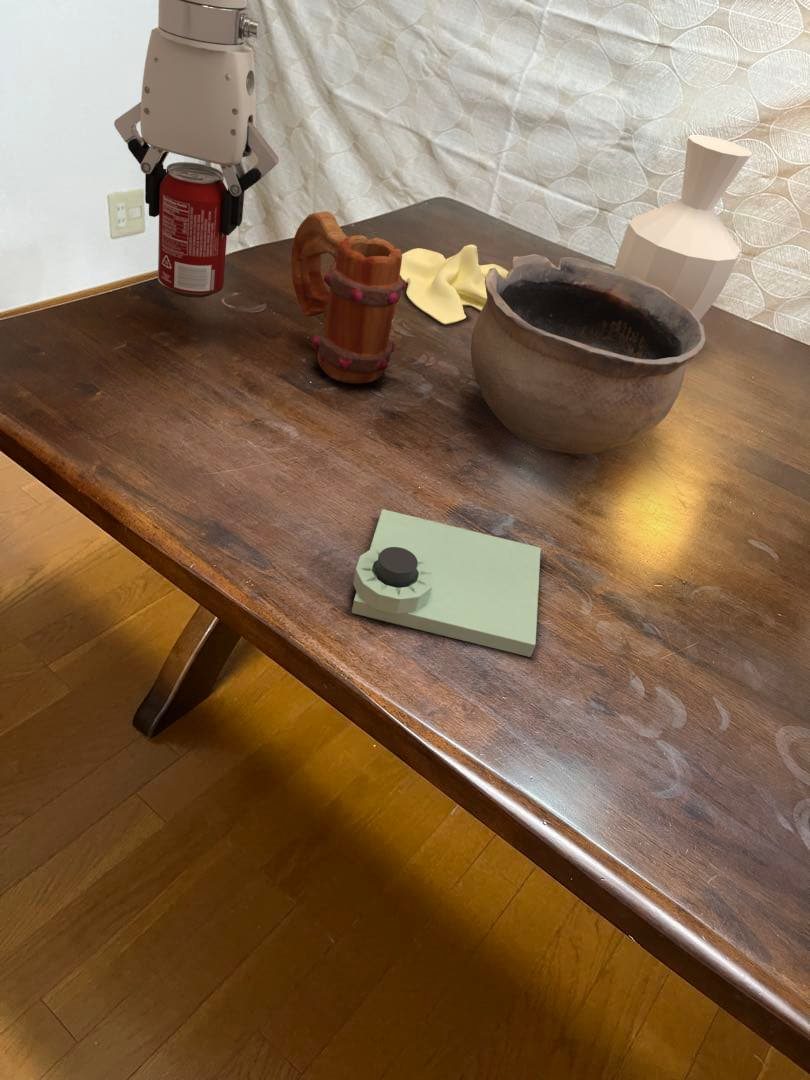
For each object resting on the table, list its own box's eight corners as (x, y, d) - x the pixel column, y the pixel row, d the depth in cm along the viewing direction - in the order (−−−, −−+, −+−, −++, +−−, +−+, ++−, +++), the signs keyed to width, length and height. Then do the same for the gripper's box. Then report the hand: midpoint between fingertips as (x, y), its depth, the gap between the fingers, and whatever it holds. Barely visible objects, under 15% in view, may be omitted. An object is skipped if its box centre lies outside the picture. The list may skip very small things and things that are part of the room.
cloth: (384, 249, 124) (392, 206, 120) (508, 268, 127) (519, 226, 124) (397, 318, 107) (406, 271, 103) (539, 337, 110) (553, 292, 107)
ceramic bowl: (538, 362, 105) (576, 241, 95) (689, 451, 94) (748, 326, 85) (411, 406, 91) (440, 270, 82) (572, 517, 81) (627, 376, 71)
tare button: (371, 582, 65) (375, 567, 64) (379, 558, 67) (382, 542, 66) (410, 592, 65) (414, 577, 64) (416, 567, 67) (420, 552, 66)
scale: (344, 615, 65) (349, 586, 63) (374, 519, 75) (380, 492, 73) (530, 661, 65) (541, 634, 63) (536, 559, 75) (546, 533, 73)
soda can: (216, 306, 89) (224, 188, 82) (150, 294, 89) (152, 173, 82) (228, 281, 95) (235, 169, 88) (165, 270, 94) (168, 155, 87)
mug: (406, 383, 95) (433, 250, 85) (353, 402, 89) (376, 262, 80) (316, 327, 101) (332, 197, 92) (262, 342, 96) (274, 206, 87)
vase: (660, 316, 124) (733, 132, 108) (716, 366, 114) (805, 171, 98) (575, 313, 119) (638, 120, 103) (625, 365, 109) (704, 160, 93)
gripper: (306, 40, 80) (285, 231, 91) (125, -4, 80) (125, 191, 91) (285, 51, 74) (265, 254, 85) (89, 2, 74) (94, 211, 85)
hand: (193, 220), depth 87 cm, fingers closed on soda can, 6 cm apart
